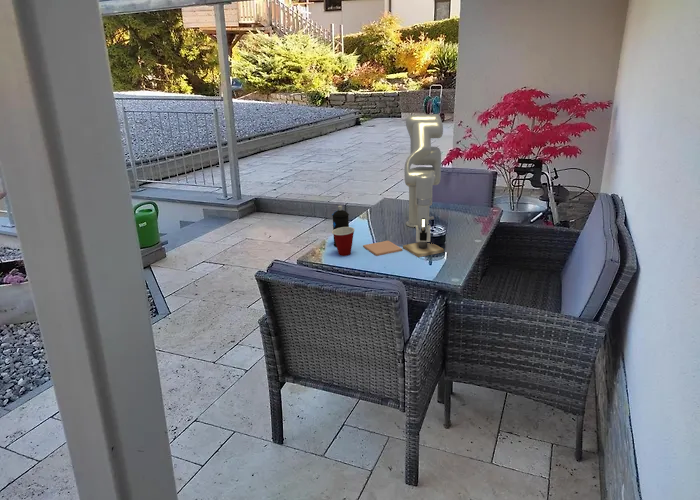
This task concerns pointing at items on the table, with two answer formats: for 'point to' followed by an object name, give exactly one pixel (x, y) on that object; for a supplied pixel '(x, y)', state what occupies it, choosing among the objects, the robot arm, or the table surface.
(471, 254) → the table surface
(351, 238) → the plastic cup
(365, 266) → the table surface
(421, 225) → the cream rectangular prism
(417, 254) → the post stand
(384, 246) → the tile
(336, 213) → the aerosol can
